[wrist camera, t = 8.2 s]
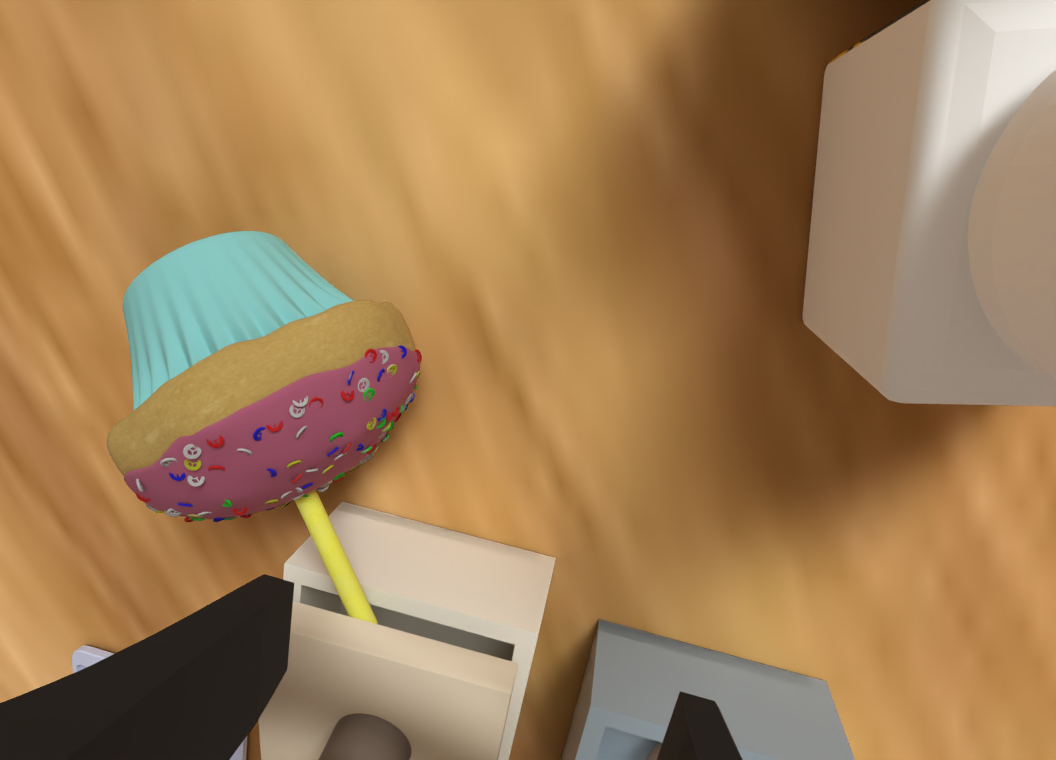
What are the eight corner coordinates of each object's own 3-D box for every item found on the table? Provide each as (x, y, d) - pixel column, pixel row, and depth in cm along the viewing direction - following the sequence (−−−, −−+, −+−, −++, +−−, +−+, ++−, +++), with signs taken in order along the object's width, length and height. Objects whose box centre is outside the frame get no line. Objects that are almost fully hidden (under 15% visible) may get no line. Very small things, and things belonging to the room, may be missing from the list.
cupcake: (280, 320, 25) (439, 594, 24) (16, 384, 18) (218, 765, 17) (385, 174, 19) (599, 523, 18) (58, 191, 13) (362, 737, 12)
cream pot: (515, 729, 25) (492, 826, 21) (324, 672, 26) (270, 756, 22) (556, 558, 22) (538, 634, 19) (342, 501, 23) (284, 563, 20)
